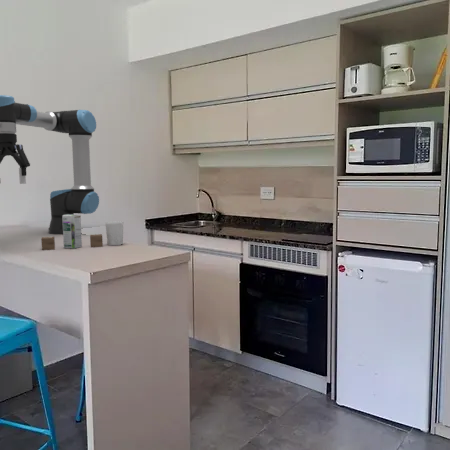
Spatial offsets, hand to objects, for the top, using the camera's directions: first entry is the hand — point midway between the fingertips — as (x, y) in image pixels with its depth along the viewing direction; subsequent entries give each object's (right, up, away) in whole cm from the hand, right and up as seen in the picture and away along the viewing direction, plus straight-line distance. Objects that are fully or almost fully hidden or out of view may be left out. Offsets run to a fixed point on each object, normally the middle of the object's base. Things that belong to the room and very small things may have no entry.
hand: (10, 183), depth 194 cm
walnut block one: (+35, -27, +8) cm, 45 cm away
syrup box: (+25, -28, +5) cm, 38 cm away
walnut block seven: (+16, -28, +2) cm, 32 cm away
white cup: (+42, -27, +12) cm, 51 cm away
